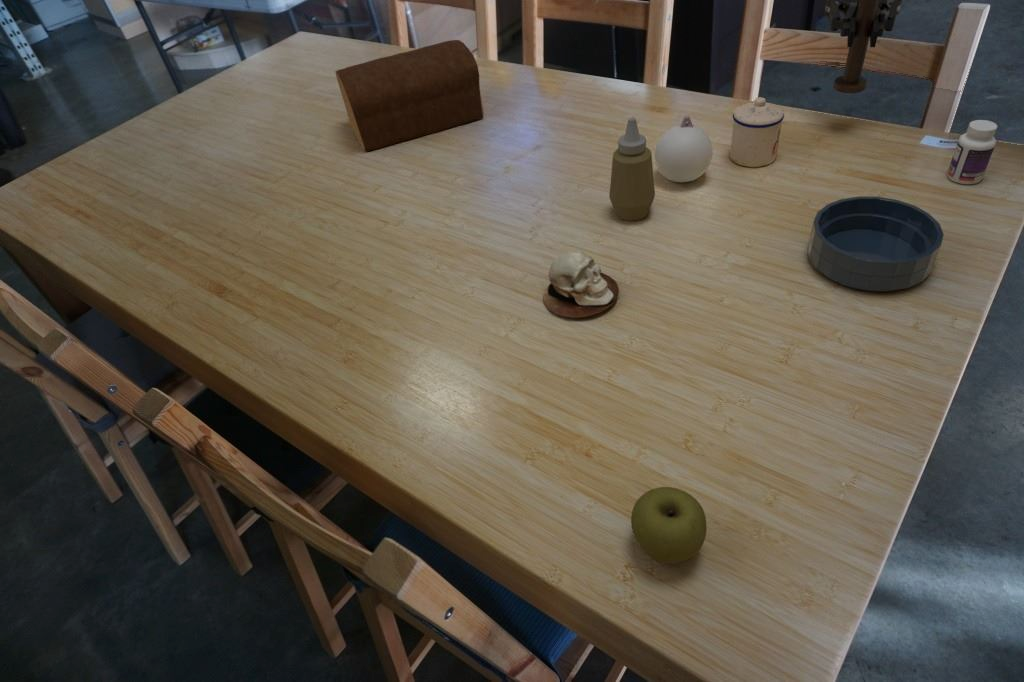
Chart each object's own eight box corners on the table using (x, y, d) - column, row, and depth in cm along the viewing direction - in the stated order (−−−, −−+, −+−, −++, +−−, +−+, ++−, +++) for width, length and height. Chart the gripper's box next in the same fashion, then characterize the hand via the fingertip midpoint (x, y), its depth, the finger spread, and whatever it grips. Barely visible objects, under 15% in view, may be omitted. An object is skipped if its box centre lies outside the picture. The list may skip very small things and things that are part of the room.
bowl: (958, 269, 100) (971, 236, 96) (865, 309, 97) (875, 277, 93) (868, 216, 113) (877, 185, 108) (783, 250, 109) (789, 219, 105)
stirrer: (872, 87, 128) (900, -27, 114) (848, 96, 127) (874, -19, 113) (850, 78, 132) (875, -34, 118) (827, 86, 130) (849, -26, 117)
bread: (350, 126, 165) (330, 60, 154) (464, 94, 170) (452, 28, 160) (365, 156, 152) (344, 86, 141) (487, 120, 158) (476, 51, 147)
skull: (638, 280, 106) (612, 264, 97) (608, 338, 107) (580, 328, 99) (579, 253, 112) (549, 236, 104) (551, 308, 114) (520, 296, 105)
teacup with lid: (782, 166, 127) (792, 107, 119) (733, 170, 128) (740, 112, 120) (767, 136, 136) (776, 80, 128) (721, 141, 137) (727, 85, 129)
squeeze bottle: (608, 202, 125) (605, 110, 113) (651, 198, 125) (654, 105, 112) (611, 227, 120) (609, 132, 107) (657, 223, 119) (660, 127, 107)
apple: (680, 591, 70) (683, 556, 65) (616, 548, 74) (615, 512, 70) (717, 539, 74) (723, 503, 69) (654, 501, 78) (656, 464, 73)
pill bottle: (988, 176, 116) (1009, 124, 110) (970, 188, 115) (990, 135, 108) (957, 166, 120) (976, 114, 113) (939, 177, 118) (957, 125, 112)
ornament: (692, 159, 133) (696, 101, 125) (720, 182, 126) (725, 122, 118) (645, 173, 132) (646, 115, 123) (670, 197, 124) (673, 137, 116)
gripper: (902, 14, 133) (908, 61, 118) (815, 14, 139) (809, 60, 123) (912, -28, 128) (920, 16, 113) (822, -25, 133) (817, 17, 118)
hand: (862, 39), depth 118 cm, fingers closed on stirrer, 3 cm apart
